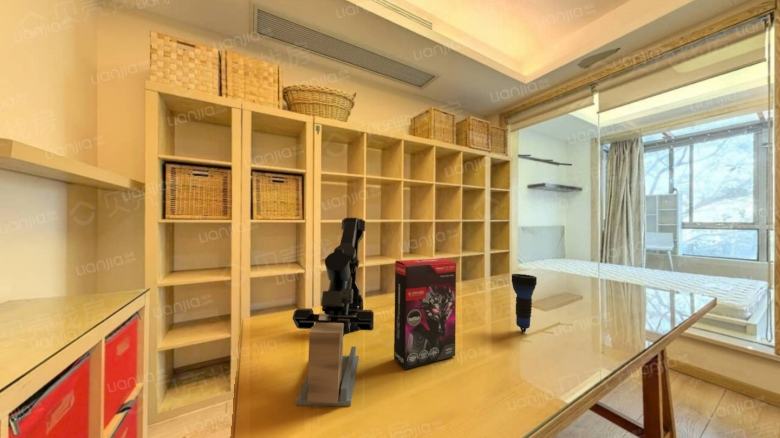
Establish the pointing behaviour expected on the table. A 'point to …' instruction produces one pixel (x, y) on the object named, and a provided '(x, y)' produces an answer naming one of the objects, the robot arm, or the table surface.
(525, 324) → the flashlight
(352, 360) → the chute
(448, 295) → the graphics card box
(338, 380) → the block
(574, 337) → the table surface
